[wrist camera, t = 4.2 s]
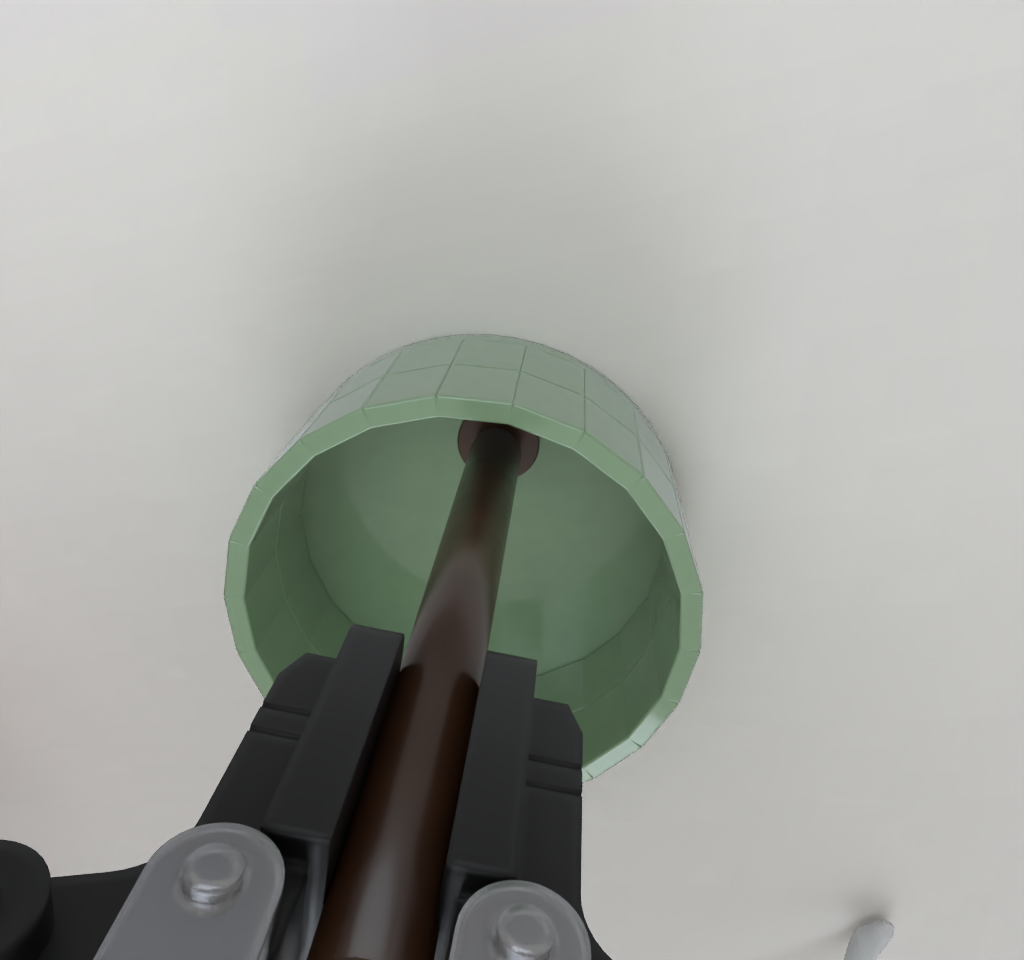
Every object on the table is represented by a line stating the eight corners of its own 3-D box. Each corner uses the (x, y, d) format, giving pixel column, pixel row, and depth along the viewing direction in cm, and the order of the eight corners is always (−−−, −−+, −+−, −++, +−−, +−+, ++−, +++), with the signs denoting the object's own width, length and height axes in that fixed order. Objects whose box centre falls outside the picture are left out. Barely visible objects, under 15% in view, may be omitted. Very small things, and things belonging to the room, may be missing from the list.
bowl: (215, 442, 23) (127, 526, 19) (572, 256, 20) (569, 302, 16) (415, 724, 27) (381, 851, 22) (741, 601, 24) (777, 718, 20)
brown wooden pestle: (532, 469, 22) (439, 1154, 8) (457, 453, 22) (225, 1112, 8) (549, 398, 21) (478, 1022, 7) (470, 381, 21) (237, 972, 7)
